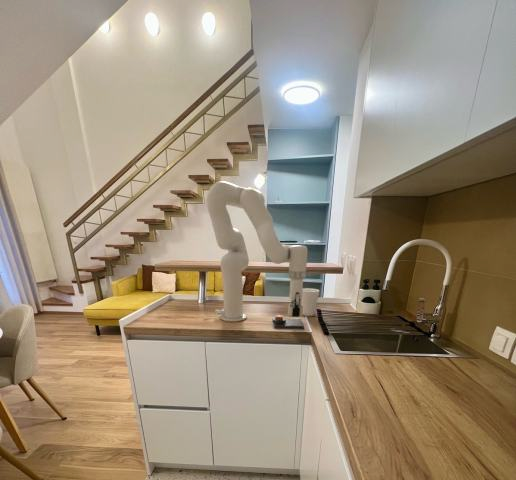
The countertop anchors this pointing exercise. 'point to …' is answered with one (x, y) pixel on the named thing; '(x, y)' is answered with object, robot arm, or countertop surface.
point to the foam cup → (309, 301)
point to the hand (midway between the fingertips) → (295, 313)
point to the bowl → (290, 310)
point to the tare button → (279, 317)
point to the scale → (288, 323)
